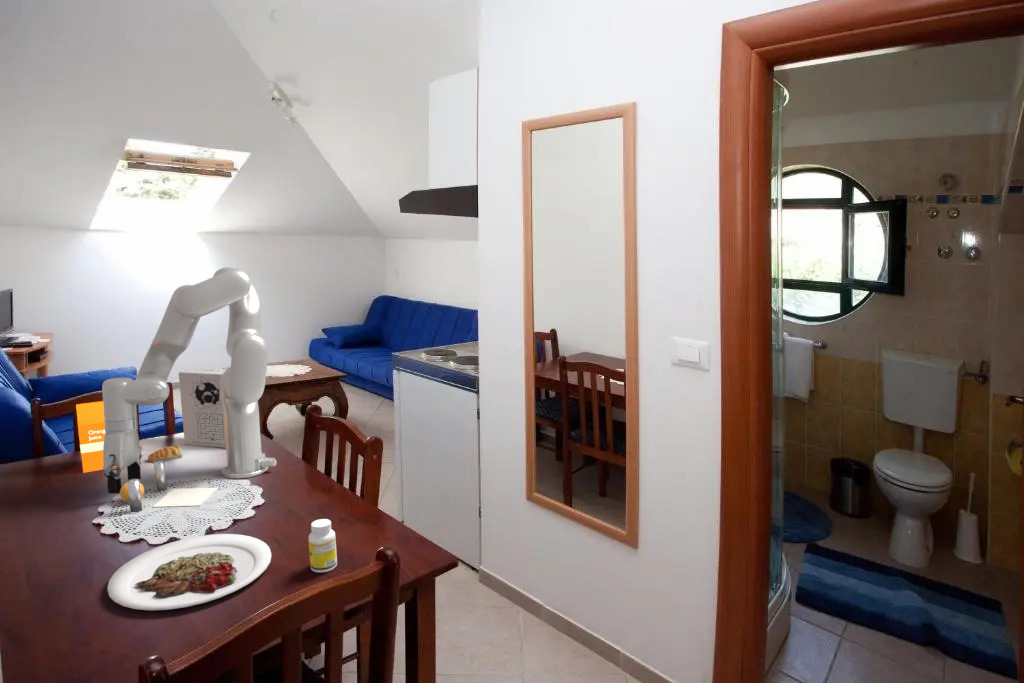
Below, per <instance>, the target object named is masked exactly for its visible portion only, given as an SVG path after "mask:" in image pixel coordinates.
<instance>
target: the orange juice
mask: <svg viewBox="0 0 1024 683" xmlns="http://www.w3.org/2000/svg"><path fill="white" fill-rule="evenodd" d="M75 405H76V406H75V408H76V416H77V428H78V437H79V439H78V440H79V448H80V456H81V463H82V465H81V466H82V473H83V474H84V473H90V472H95V471H102V470H103V444H104V436H105V433H106V432H105V423H104V407H103V400H101V401H93V402H83V403H78V404H77V403H76V404H75ZM113 467H119V466H113Z"/></svg>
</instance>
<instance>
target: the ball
mask: <svg viewBox="0 0 1024 683" xmlns="http://www.w3.org/2000/svg"><path fill="white" fill-rule="evenodd" d="M140 492H141V498H142V497H143V495H144V493H145V486H144V485H143V484H142V483H141V482H140ZM119 496H120V498H121V499H122V500H123V501H124V502H127V503H129V493H128V484H127V482H125V483H123V485H121V489H120V493H119Z"/></svg>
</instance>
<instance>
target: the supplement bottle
mask: <svg viewBox="0 0 1024 683" xmlns="http://www.w3.org/2000/svg"><path fill="white" fill-rule="evenodd" d="M310 528H311V529H310V531H311V532H310V533H309V535H308V549H309V550H308V553H309V566H310V569H311V571H312V572H315V573H321V574H322V573H327V572H330V571H332V570H334V569H335V568H336V567H337V566H338V554H337V542H336V540H337V539H336V532H335V530H333V529H332V520H330V519H328V518H321V519H316V520H314V521H312V522H311V525H310Z"/></svg>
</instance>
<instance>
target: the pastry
mask: <svg viewBox="0 0 1024 683" xmlns="http://www.w3.org/2000/svg"><path fill="white" fill-rule="evenodd" d="M182 457H183V451H182V449H181V447H180V445H179V444H174V445H173V446H172V445H171V446H165V447H163V448H160V449H159V450H156V451H154V452H151V453H150V454H149V455H148V456H147V461H149V462H152V463H154V462H156V461H165V462H167V461H173V460H177V459H182Z"/></svg>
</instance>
